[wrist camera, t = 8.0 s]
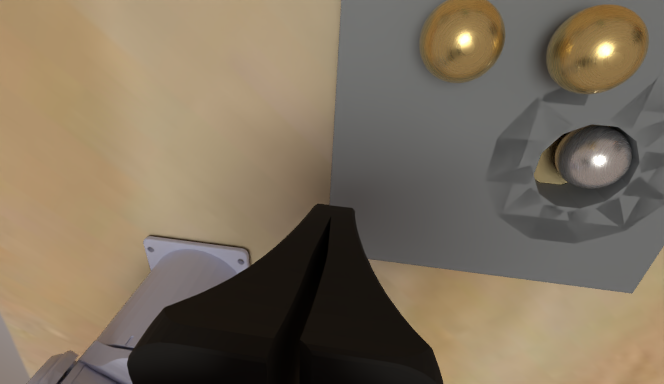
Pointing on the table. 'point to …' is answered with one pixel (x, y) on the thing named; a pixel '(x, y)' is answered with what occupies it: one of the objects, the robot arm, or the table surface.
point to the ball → (593, 156)
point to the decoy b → (597, 49)
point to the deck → (493, 151)
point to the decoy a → (462, 40)
